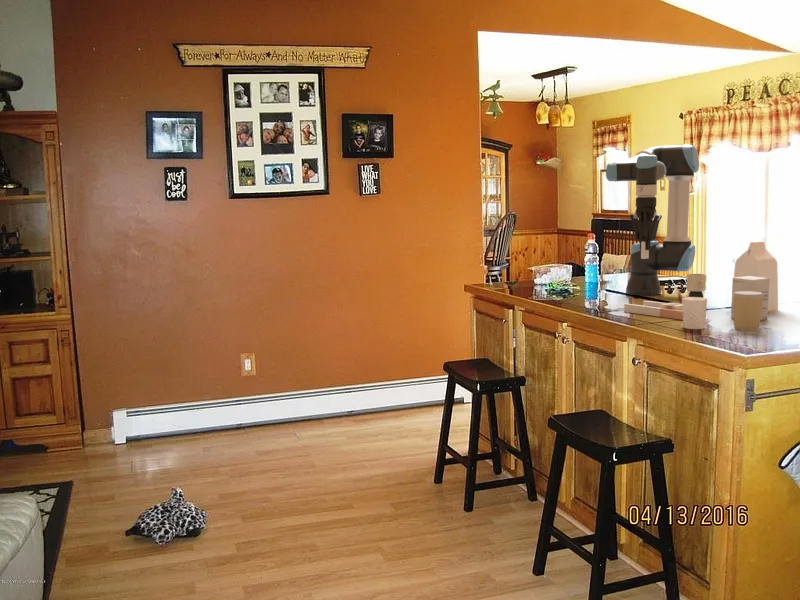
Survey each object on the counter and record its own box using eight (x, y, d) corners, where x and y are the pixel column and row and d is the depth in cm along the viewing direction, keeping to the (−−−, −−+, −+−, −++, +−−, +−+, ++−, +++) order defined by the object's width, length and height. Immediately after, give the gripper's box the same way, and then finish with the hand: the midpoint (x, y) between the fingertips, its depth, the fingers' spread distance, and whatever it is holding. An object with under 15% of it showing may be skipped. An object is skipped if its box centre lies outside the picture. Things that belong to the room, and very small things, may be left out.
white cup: (677, 326, 266) (678, 297, 265) (699, 325, 267) (700, 296, 265) (687, 330, 258) (688, 300, 257) (710, 329, 259) (711, 299, 258)
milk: (756, 312, 289) (759, 243, 286) (730, 309, 299) (733, 241, 296) (778, 310, 295) (781, 241, 291) (752, 306, 305) (754, 240, 301)
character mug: (710, 309, 300) (712, 275, 298) (693, 309, 300) (694, 276, 298) (697, 304, 311) (698, 272, 309) (680, 305, 310) (681, 273, 308)
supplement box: (729, 318, 279) (731, 277, 277) (746, 316, 283) (747, 275, 281) (752, 322, 271) (753, 279, 269) (768, 319, 275) (770, 277, 273)
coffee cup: (760, 326, 263) (761, 291, 261) (763, 331, 254) (765, 294, 252) (730, 325, 266) (731, 290, 264) (732, 330, 257) (734, 294, 255)
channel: (624, 311, 298) (624, 303, 298) (645, 308, 306) (645, 300, 305) (683, 320, 278) (683, 311, 277) (704, 315, 285) (705, 307, 285)
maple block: (660, 316, 288) (660, 304, 288) (673, 314, 292) (673, 302, 291) (675, 318, 282) (675, 306, 282) (688, 316, 286) (688, 304, 285)
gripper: (625, 196, 297) (624, 258, 300) (654, 196, 286) (653, 260, 290) (638, 196, 301) (636, 256, 305) (667, 196, 291) (665, 258, 294)
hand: (644, 258), depth 297 cm, fingers closed
